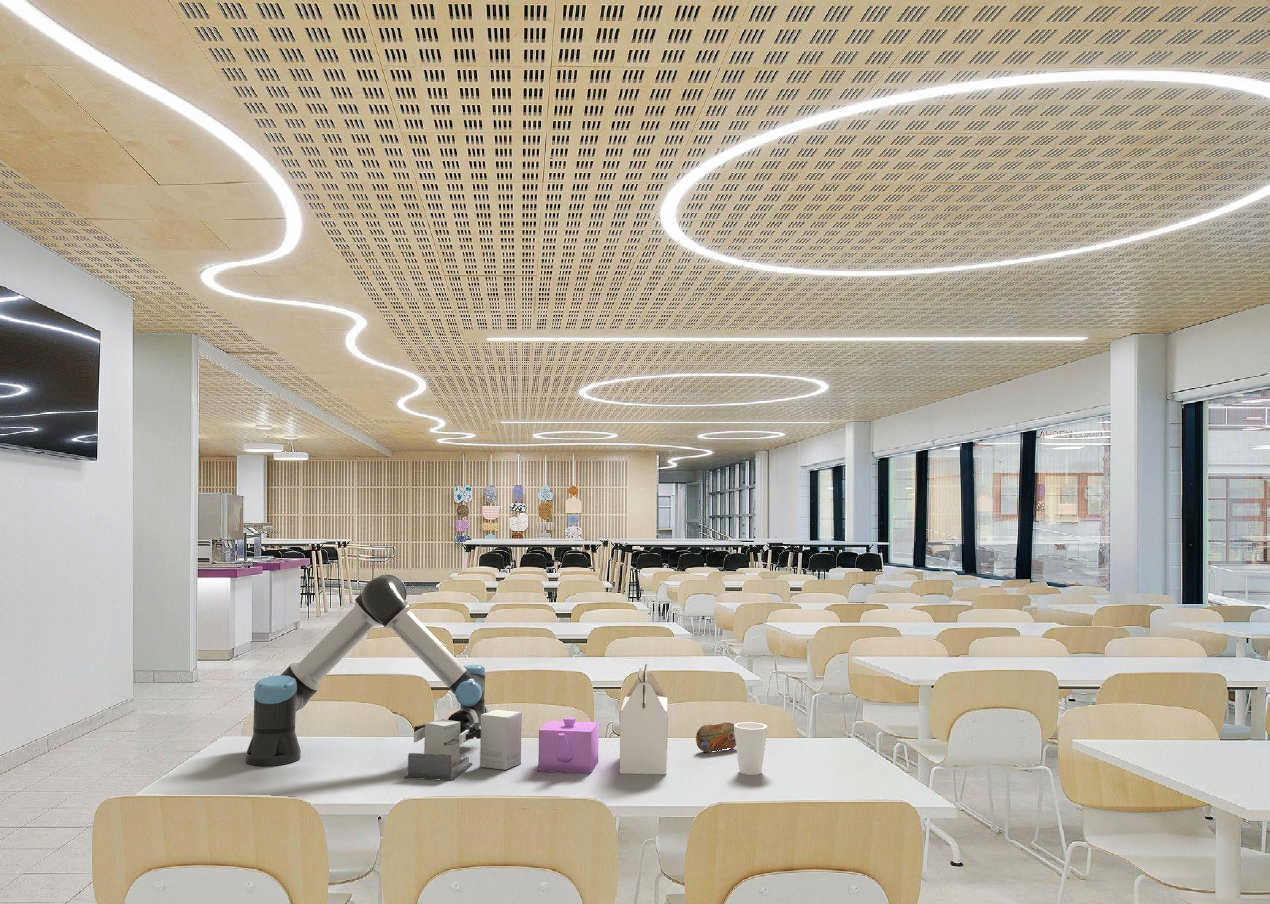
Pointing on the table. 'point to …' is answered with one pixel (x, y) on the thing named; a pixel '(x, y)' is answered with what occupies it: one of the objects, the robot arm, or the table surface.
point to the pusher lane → (435, 766)
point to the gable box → (644, 728)
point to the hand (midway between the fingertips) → (437, 738)
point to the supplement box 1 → (443, 738)
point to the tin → (716, 737)
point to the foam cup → (750, 746)
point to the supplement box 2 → (500, 739)
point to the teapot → (568, 746)
